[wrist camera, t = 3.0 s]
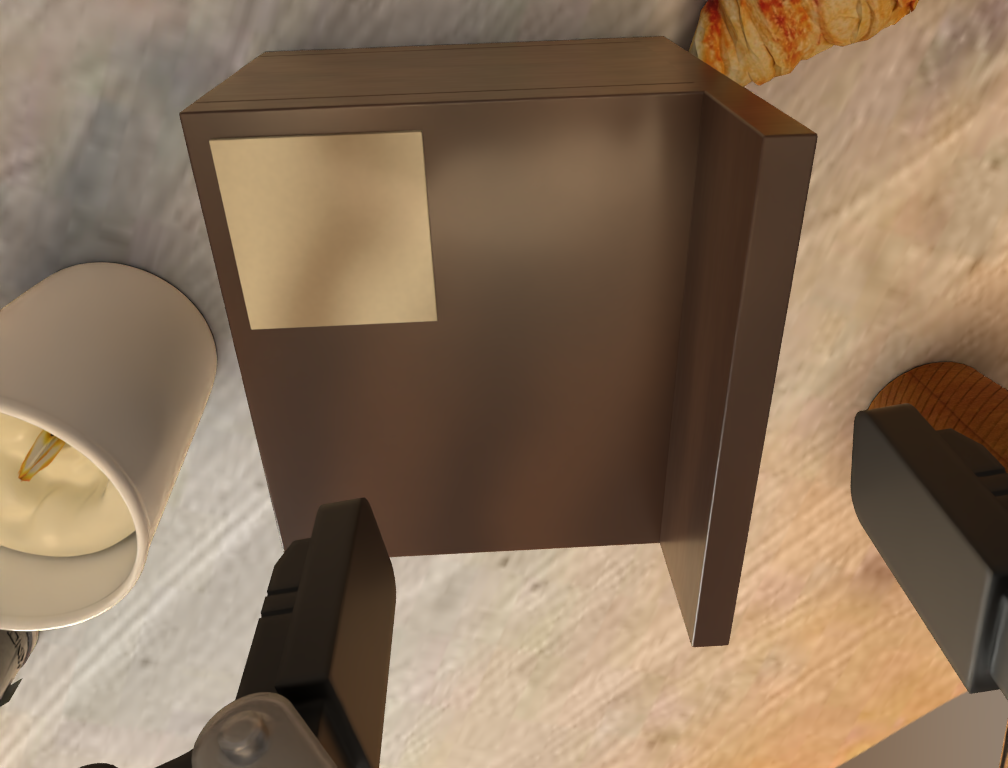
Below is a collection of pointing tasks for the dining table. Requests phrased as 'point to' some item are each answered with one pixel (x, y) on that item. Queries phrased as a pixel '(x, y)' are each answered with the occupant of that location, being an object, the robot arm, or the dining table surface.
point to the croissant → (784, 32)
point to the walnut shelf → (509, 293)
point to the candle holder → (91, 435)
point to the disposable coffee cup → (954, 403)
